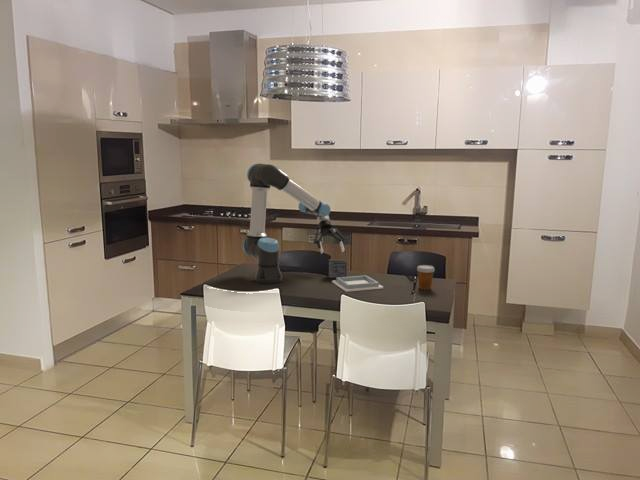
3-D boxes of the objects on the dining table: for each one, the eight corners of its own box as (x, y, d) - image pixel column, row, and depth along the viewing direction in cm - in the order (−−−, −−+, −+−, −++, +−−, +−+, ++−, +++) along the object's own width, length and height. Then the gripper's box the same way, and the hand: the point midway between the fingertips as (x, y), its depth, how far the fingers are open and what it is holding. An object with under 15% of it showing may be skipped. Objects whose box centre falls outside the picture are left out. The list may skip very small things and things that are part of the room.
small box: (346, 276, 299) (347, 259, 298) (346, 279, 293) (346, 261, 291) (328, 275, 300) (329, 258, 298) (327, 278, 294) (328, 260, 292)
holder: (345, 291, 268) (345, 286, 267) (331, 282, 286) (332, 277, 285) (383, 288, 275) (383, 283, 274) (367, 279, 293) (367, 274, 293)
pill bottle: (423, 291, 271) (424, 269, 268) (412, 287, 279) (413, 265, 277) (437, 289, 275) (438, 267, 273) (425, 285, 283) (427, 264, 281)
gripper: (341, 225, 321) (350, 253, 311) (303, 227, 313) (311, 256, 302) (344, 218, 316) (354, 247, 305) (306, 220, 307) (314, 249, 296)
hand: (333, 251), depth 303 cm, fingers open, 13 cm apart
